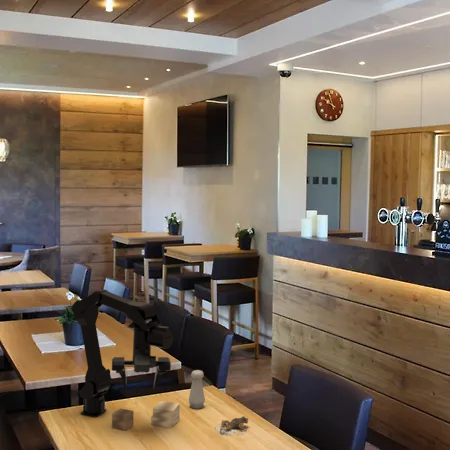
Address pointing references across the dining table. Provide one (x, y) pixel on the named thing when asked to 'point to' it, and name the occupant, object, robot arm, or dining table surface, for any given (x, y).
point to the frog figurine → (232, 426)
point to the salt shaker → (197, 390)
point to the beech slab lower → (165, 421)
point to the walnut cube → (122, 419)
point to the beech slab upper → (166, 410)
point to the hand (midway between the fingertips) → (140, 389)
